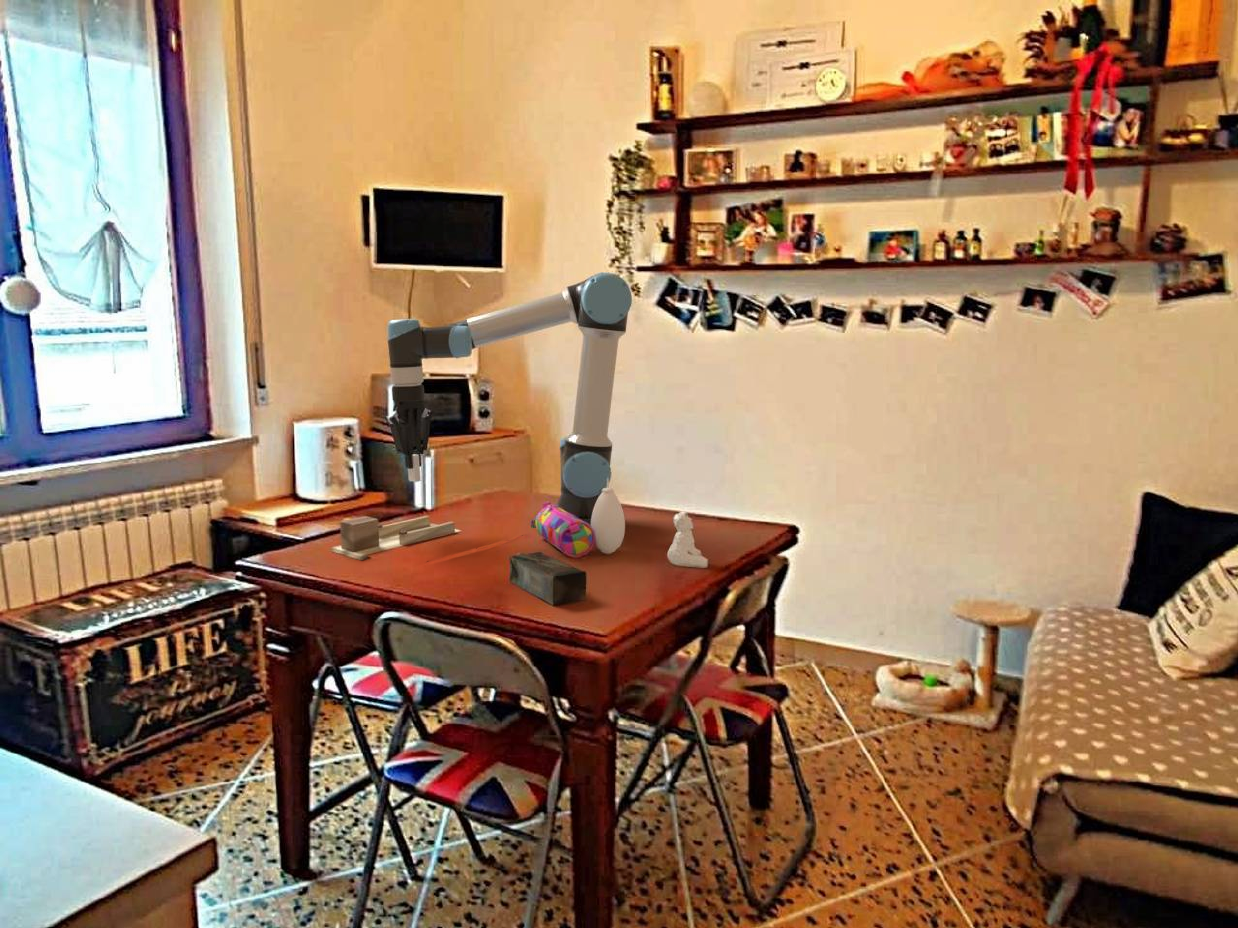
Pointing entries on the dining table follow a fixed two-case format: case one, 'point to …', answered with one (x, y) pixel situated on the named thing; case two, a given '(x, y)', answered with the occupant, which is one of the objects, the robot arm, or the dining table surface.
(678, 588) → the dining table surface
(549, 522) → the pencil case
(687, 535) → the white creature statuette
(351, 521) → the walnut block
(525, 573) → the dark grey block
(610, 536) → the sauce bottle
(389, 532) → the railed wooden board
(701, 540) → the dining table surface
